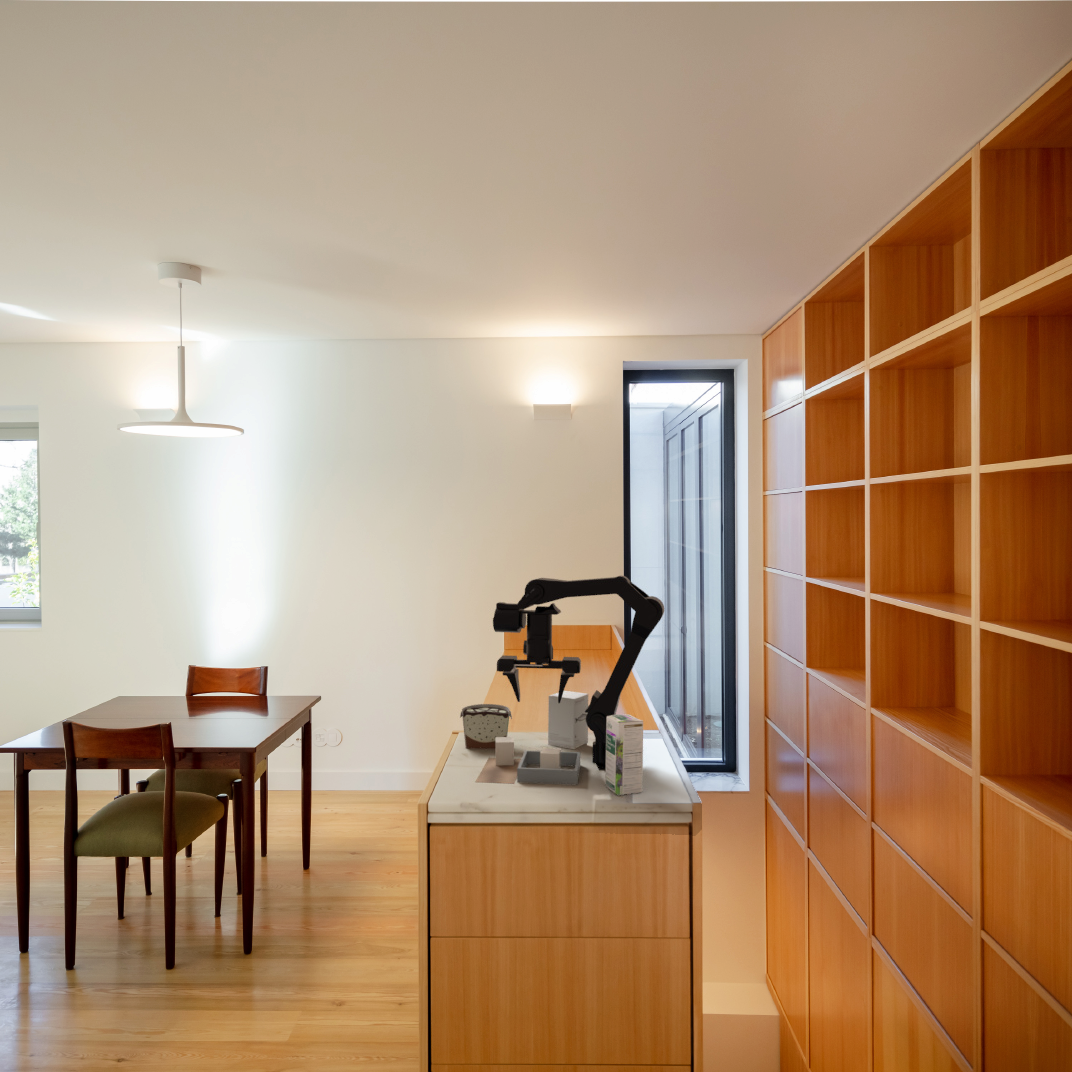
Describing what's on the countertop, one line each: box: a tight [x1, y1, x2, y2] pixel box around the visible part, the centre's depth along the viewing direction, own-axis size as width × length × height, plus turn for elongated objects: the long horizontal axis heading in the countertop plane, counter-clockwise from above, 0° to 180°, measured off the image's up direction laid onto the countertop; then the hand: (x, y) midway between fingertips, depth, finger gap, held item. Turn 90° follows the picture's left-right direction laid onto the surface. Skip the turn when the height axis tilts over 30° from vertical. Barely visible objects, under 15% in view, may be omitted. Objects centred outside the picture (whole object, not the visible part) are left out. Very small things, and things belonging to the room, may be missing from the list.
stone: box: [539, 747, 562, 769], centre depth 150 cm, size 4×4×5 cm
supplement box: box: [547, 690, 589, 750], centre depth 172 cm, size 7×7×13 cm
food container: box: [459, 703, 513, 750], centre depth 170 cm, size 12×6×10 cm, turn 84°
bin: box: [516, 749, 581, 786], centre depth 150 cm, size 12×12×4 cm
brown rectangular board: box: [474, 757, 521, 785], centre depth 152 cm, size 8×16×1 cm, turn 174°
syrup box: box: [604, 713, 644, 796], centre depth 143 cm, size 6×6×14 cm
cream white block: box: [494, 736, 515, 765], centre depth 157 cm, size 4×4×5 cm
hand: (539, 702), depth 162 cm, fingers open, 9 cm apart
